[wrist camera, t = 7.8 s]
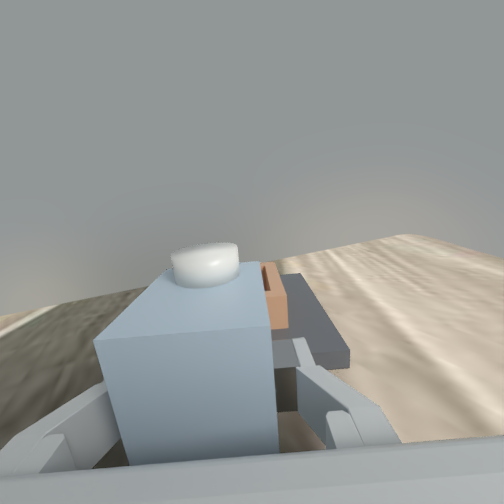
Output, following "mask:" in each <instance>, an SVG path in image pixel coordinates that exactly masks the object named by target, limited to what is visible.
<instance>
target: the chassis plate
mask: <svg viewBox="0 0 504 504" xmlns="http://www.w3.org/2000/svg"><path fill="white" fill-rule="evenodd" d="M260 267H261V273H262V279H263V284H264V290H265V296H266V302H267V308H268V314H269V319H270V325H271V339H272V341H275V340H285V339H292V338H300V337H304V338H305V340H306V342H307V345H308V347H309V350H310V352H311V355H312V357H313V360H314V362H315V365H316V366H317V365H320V366H322V367H323V368H324V369H326V370H330V369H342V368H350V349H349V348H348V346H347V345H346V343H345V341H344V340H343V338H342V337H341V335H340V334H339V332H338V331H337V329H336V328H335V326H334V324H333V323H332V321H331V320H330V318H329V317H328V315H327V314H326V312H325V310H324V309H323V307H322V306H321V304H320V303H319V301H318V300H317V298H316V297H315V295H314V293H313V292H312V290H311V289H310V287H309V286H308V284H307V283H306V281H305V279H304V278H303V276H302V275H301V273H298V274H286V275H279V273H278V271H277V268H276V265H275V263H274V262H265V263H260Z"/></svg>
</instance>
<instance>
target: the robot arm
mask: <svg viewBox="0 0 504 504" xmlns="http://www.w3.org/2000/svg"><path fill="white" fill-rule="evenodd" d="M272 353H273V367H274V381H275V395H276V409H277V412H291V411H298V413H299V414H300V415H301V417H302V418H303V419H304V420H305V421H306V423H307V424H308V425H309V426H310V427H311V429H312V430H313V431H314V432H315V433H316V434H317V436H318V437H319V438H320V439H321V440H322V442H323V443H324V444H325V445H326V450H317V451H305V452H292V453H280V454H268V455H255V456H243V457H231V458H219V459H207V460H195V461H183V462H171V463H159V464H147V465H135V466H123V467H111V468H99V469H92V468H93V467H94V466H95V465H96V463H97V462H98V461H99V460H100V459H101V458H102V457H103V456H104V455H105V454H106V453H107V452H108V451H109V450H110V449H111V448H112V447H113V446H114V445H115V444H116V443H117V442H118V440H119V439H120V438H121V435H120V431H119V428H118V424H117V421H116V417H115V414H114V411H113V407H112V404H111V400H110V397H109V394H108V390H107V387H106V383H105V380H103V381H102V383H101V384H96V385H94V386H93V387H91V388H89V389H88V390H86V391H85V392H83V393H81V394H80V395H78V396H77V397H75V398H74V399H72V400H70V401H69V402H67V403H66V404H64V405H63V406H61V407H59V408H58V409H56V410H55V411H53V412H52V413H50V414H48V415H47V416H45V417H44V418H42V419H40V420H39V421H37V422H36V423H34V424H33V425H31V426H29V427H28V428H26V429H25V430H23V431H22V432H20V433H18V434H17V435H15V436H14V437H13V438H12V439H11V440H10V441H9V442H8V443H7V444H6V445H5V446H4V447H3V448H2V449H1V450H0V504H504V435H496V436H484V437H471V438H459V439H447V440H435V441H423V442H411V443H402V442H401V440H400V439H399V437H398V436H397V434H396V432H395V431H394V429H393V427H392V426H391V424H390V423H389V421H388V419H387V418H386V416H385V414H384V413H383V411H382V410H381V408H380V406H378V405H377V404H375V403H374V402H373V401H371V400H370V399H368V398H367V397H365V396H364V395H362V394H361V393H359V392H358V391H357V390H355V389H354V388H352V387H351V386H349V385H348V384H346V383H345V382H343V381H342V380H340V379H339V378H338V377H336V376H335V375H333V374H332V373H330V372H329V371H327V370H326V369H324V368H323V367H322V366H320V365H317V366H316V365H315V362H314V360H313V357H312V355H311V352H310V350H309V347H308V345H307V342H306V340H305V338H304V337H300V338H292V339H285V340H275V341H272Z"/></svg>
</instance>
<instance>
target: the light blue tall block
mask: <svg viewBox="0 0 504 504" xmlns="http://www.w3.org/2000/svg"><path fill="white" fill-rule="evenodd" d="M171 260H172V266H173V268H172V269H166V271H164V272H163V274H161V275H160V276H159V277H158V278H157V279H156V280H155V281H154V282H153V283H152V284H151V285H150V286H149V287H148V288H147V289H146V290H145V291H144V292H143V293H142V294H141V295H140V296H139V297H138V298H136V299H135V300H134V301H133V302H132V303H131V304H130V305H129V306H128V307H127V308H126V309H125V310H124V311H123V312H122V313H121V314H120V315H119V316H118V317H117V318H116V319H115V320H114V321H113V322H112V323H111V324H110V325H109V326H108V327H106V328H105V329H104V330H103V331H102V332H101V333H100V334H99V335H98V336H97V337H96V338H95V339H94V340H93V342H94V346H95V349H96V352H97V356H98V359H99V363H100V366H101V370H102V373H103V376H104V380H105V383H106V387H107V390H108V394H109V397H110V400H111V404H112V407H113V411H114V414H115V417H116V421H117V424H118V428H119V431H120V435H121V438H122V441H123V445H124V448H125V452H126V455H127V459H128V462H129V465H130V466H135V465H147V464H159V463H171V462H183V461H195V460H207V459H219V458H231V457H243V456H255V455H268V454H280V451H279V437H278V423H277V409H276V395H275V381H274V367H273V353H272V339H271V325H270V319H269V314H268V308H267V302H266V296H265V290H264V284H263V279H262V273H261V267H260V262H259V261H255V262H244V263H239V258H238V248H237V245H235V244H232V243H223V242H222V243H221V242H218V243H205V244H198V245H192V246H188V247H184V248H181V249H178V250H176V251H174V252H173V253H171Z"/></svg>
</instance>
